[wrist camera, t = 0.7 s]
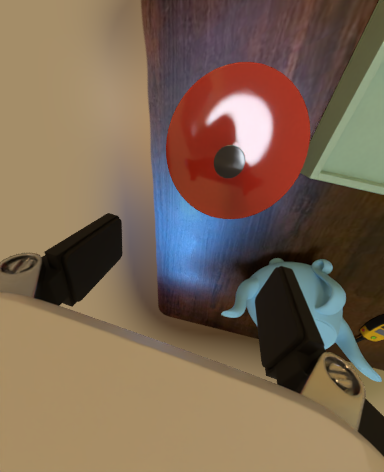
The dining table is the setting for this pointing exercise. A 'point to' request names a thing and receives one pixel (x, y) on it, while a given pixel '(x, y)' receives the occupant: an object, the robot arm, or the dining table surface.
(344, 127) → the green square tray
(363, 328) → the remote control
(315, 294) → the teapot
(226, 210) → the lid
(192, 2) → the dining table surface
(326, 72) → the dining table surface
